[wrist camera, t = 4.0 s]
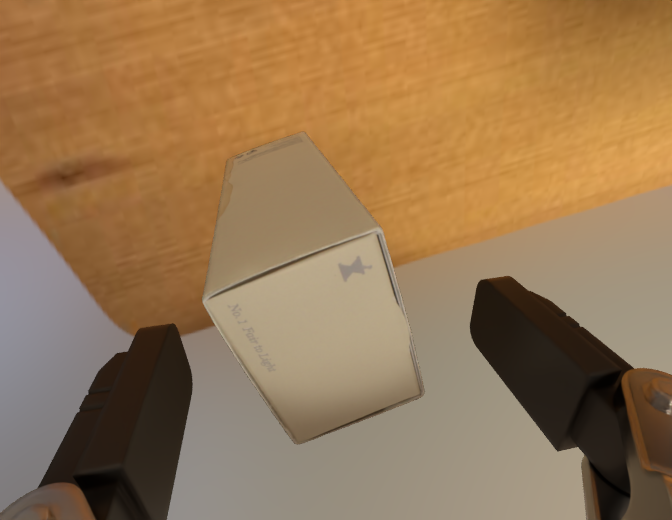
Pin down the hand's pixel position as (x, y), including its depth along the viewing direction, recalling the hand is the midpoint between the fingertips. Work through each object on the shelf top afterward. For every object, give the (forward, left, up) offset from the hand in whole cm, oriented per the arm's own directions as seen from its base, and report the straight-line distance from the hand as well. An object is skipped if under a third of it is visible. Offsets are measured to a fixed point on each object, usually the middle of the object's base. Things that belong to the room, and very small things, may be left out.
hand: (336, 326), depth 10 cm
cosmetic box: (0, 0, -12) cm, 12 cm away
